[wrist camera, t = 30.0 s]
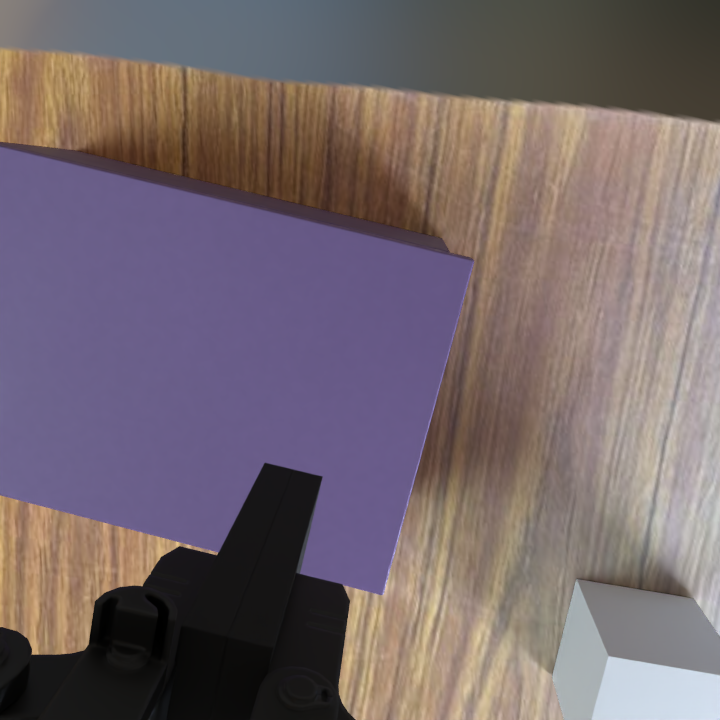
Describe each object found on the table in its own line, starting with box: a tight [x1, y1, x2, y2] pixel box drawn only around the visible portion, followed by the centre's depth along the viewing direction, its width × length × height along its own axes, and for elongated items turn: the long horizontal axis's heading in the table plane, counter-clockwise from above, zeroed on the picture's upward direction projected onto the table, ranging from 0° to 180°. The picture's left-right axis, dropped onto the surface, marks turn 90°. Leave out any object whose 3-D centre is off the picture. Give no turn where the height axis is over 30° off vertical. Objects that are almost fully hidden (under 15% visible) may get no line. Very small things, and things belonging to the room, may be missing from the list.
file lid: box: [0, 144, 474, 595], centre depth 26 cm, size 18×14×1 cm
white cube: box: [552, 579, 720, 720], centre depth 33 cm, size 6×6×6 cm
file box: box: [0, 142, 450, 252], centre depth 30 cm, size 18×14×7 cm
